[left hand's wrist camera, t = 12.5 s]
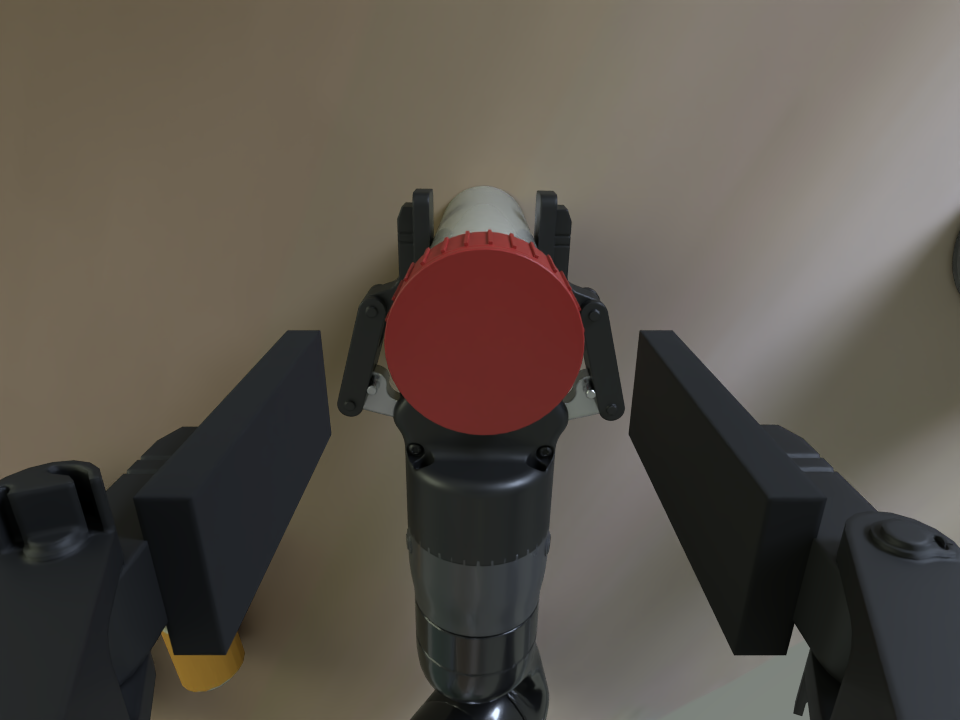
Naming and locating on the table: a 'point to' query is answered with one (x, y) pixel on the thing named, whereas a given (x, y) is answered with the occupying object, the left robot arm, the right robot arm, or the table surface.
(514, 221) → the bottle
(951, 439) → the table surface
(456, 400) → the lid
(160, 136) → the table surface
